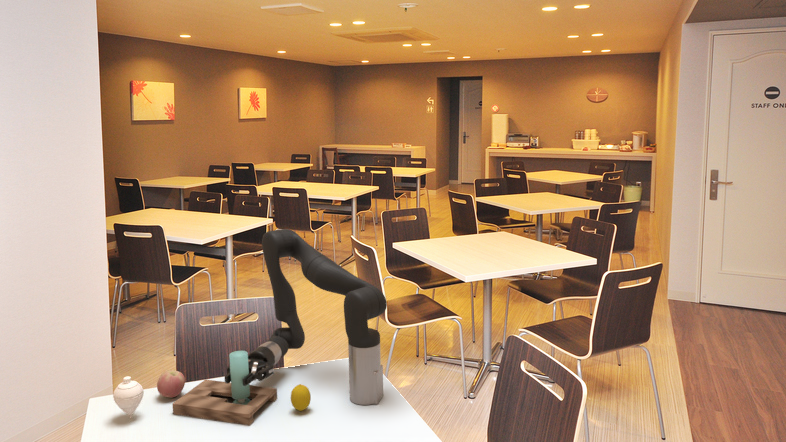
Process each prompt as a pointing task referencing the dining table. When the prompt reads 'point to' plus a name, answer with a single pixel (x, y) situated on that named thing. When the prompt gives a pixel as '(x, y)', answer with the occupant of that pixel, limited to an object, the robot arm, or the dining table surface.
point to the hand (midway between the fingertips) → (235, 381)
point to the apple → (170, 383)
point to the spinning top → (128, 395)
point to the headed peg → (239, 377)
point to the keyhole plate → (222, 402)
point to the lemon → (300, 397)
